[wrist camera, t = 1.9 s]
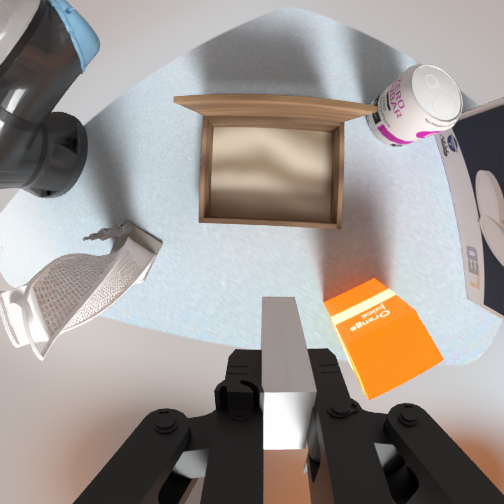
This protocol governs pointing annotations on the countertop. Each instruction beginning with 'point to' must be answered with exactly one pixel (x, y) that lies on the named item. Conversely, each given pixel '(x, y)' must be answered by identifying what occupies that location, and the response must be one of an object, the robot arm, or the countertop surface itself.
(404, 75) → the supplement can
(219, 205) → the box
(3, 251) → the countertop surface
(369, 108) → the lid
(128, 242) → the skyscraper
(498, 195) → the packaging
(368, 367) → the orange juice
